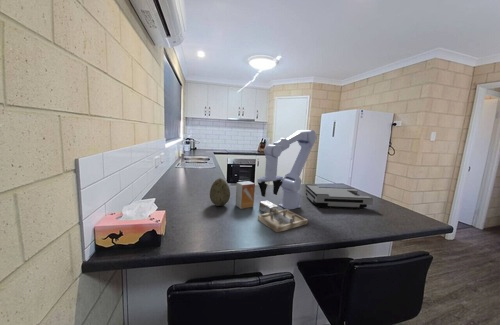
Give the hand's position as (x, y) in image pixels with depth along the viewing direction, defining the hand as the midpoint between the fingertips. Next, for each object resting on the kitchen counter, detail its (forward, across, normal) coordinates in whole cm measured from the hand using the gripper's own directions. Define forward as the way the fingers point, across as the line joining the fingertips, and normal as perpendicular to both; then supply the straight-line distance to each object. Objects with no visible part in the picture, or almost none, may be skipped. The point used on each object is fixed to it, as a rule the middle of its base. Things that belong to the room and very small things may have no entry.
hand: (269, 195), depth 104 cm
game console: (+9, -47, +6) cm, 48 cm away
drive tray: (+9, +1, +12) cm, 15 cm away
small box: (+9, +7, -12) cm, 17 cm away
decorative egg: (+9, +19, -18) cm, 28 cm away
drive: (+9, 0, 0) cm, 9 cm away
